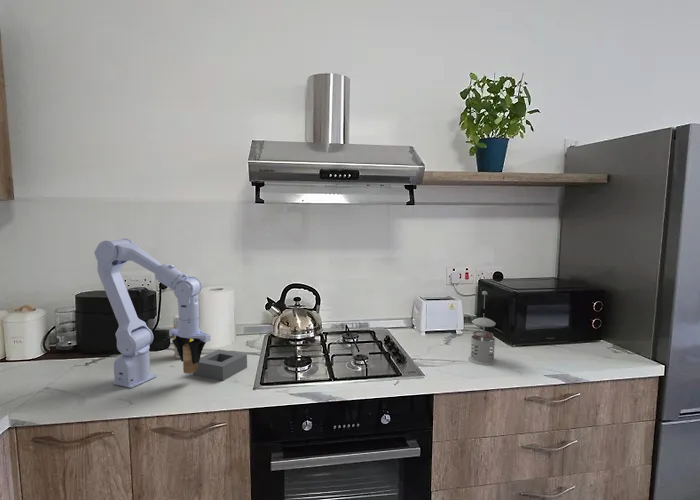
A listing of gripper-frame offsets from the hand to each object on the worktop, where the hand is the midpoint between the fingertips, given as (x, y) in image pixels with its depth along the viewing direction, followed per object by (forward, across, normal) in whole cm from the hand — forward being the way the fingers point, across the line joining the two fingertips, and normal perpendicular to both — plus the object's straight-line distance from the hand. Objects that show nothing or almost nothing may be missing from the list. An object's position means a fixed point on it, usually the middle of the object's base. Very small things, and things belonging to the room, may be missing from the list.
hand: (190, 361), depth 125 cm
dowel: (+3, 0, 0) cm, 3 cm away
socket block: (+7, -2, -11) cm, 13 cm away
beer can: (+7, +19, -16) cm, 26 cm away
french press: (+6, -80, -57) cm, 99 cm away
